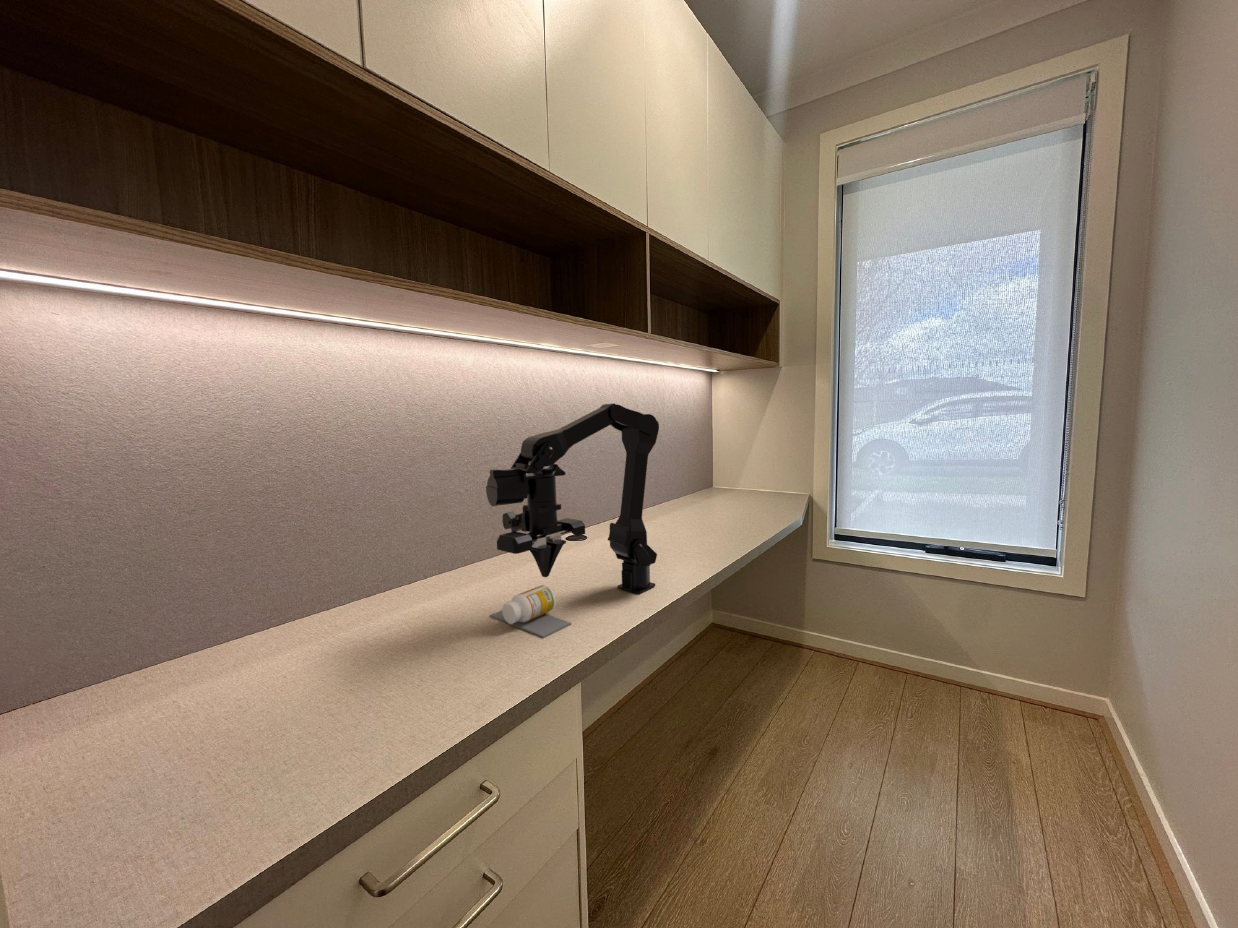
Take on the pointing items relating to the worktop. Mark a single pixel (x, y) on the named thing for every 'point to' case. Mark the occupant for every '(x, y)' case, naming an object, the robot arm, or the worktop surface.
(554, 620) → the mat
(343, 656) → the worktop surface
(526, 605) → the supplement bottle
